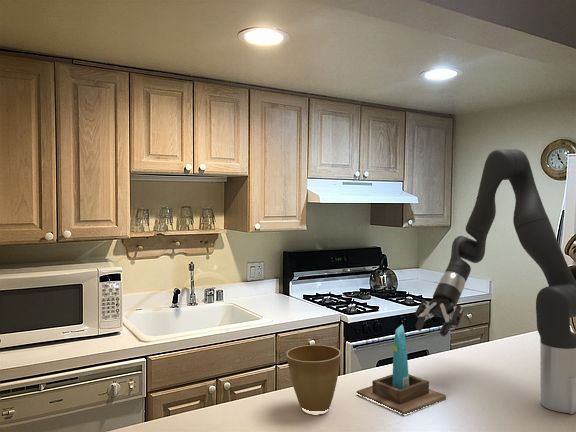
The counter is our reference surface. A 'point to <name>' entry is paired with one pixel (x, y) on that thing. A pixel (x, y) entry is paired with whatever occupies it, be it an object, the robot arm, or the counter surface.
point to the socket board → (402, 394)
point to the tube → (400, 360)
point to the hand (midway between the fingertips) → (429, 332)
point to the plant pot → (314, 375)
